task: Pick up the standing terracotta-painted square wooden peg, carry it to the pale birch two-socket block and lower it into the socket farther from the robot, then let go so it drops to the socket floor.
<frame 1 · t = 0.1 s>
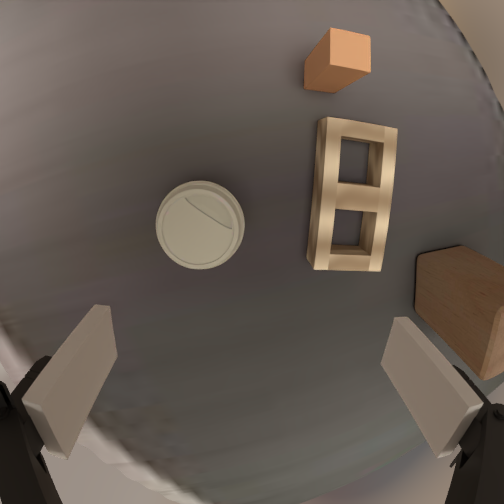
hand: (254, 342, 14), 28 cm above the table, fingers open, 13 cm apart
block: (438, 276, 44), on the table
socket block: (346, 193, 40), on the table
coffee cup: (208, 207, 40), on the table
peg: (319, 76, 35), on the table
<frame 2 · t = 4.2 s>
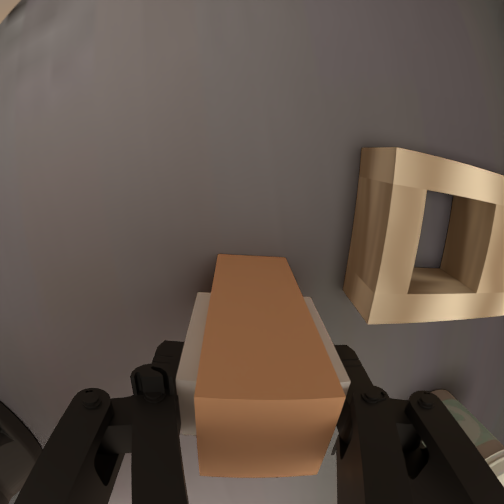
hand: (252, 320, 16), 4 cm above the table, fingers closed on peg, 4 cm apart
socket block: (462, 232, 19), on the table
coffee cup: (425, 410, 25), on the table
peg: (249, 286, 20), on the table, touching gripper
when the fingers open (7 cm above the table, at t = 9.2 s): peg drops 3 cm, resting in socket block.
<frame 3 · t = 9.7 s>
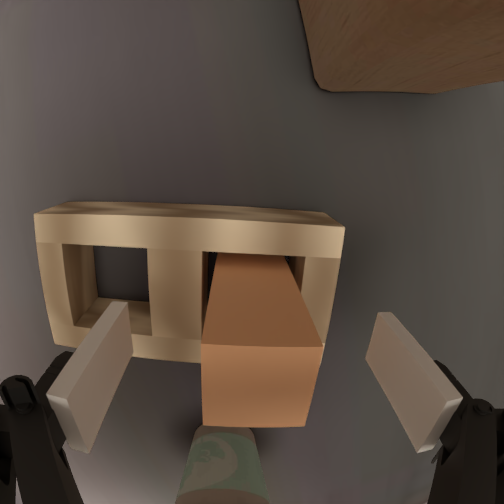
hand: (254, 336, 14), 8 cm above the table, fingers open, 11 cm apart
block: (367, 31, 17), on the table
socket block: (186, 269, 22), on the table
coffee cup: (224, 436, 27), on the table
peg: (247, 272, 22), resting in socket block
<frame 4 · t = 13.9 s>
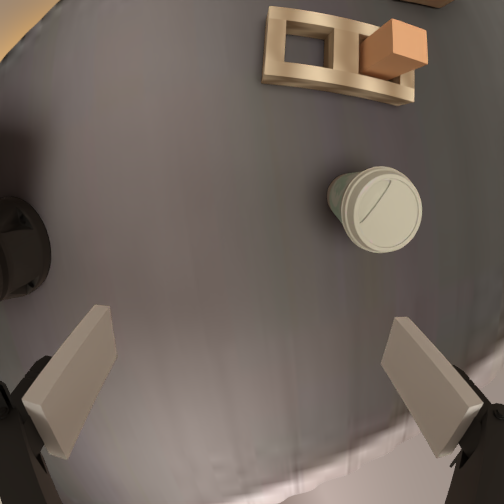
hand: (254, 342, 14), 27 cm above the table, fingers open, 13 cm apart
socket block: (335, 60, 33), on the table
coffee cup: (347, 195, 39), on the table
peg: (365, 67, 34), resting in socket block
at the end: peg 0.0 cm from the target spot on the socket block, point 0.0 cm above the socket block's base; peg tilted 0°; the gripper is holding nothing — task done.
